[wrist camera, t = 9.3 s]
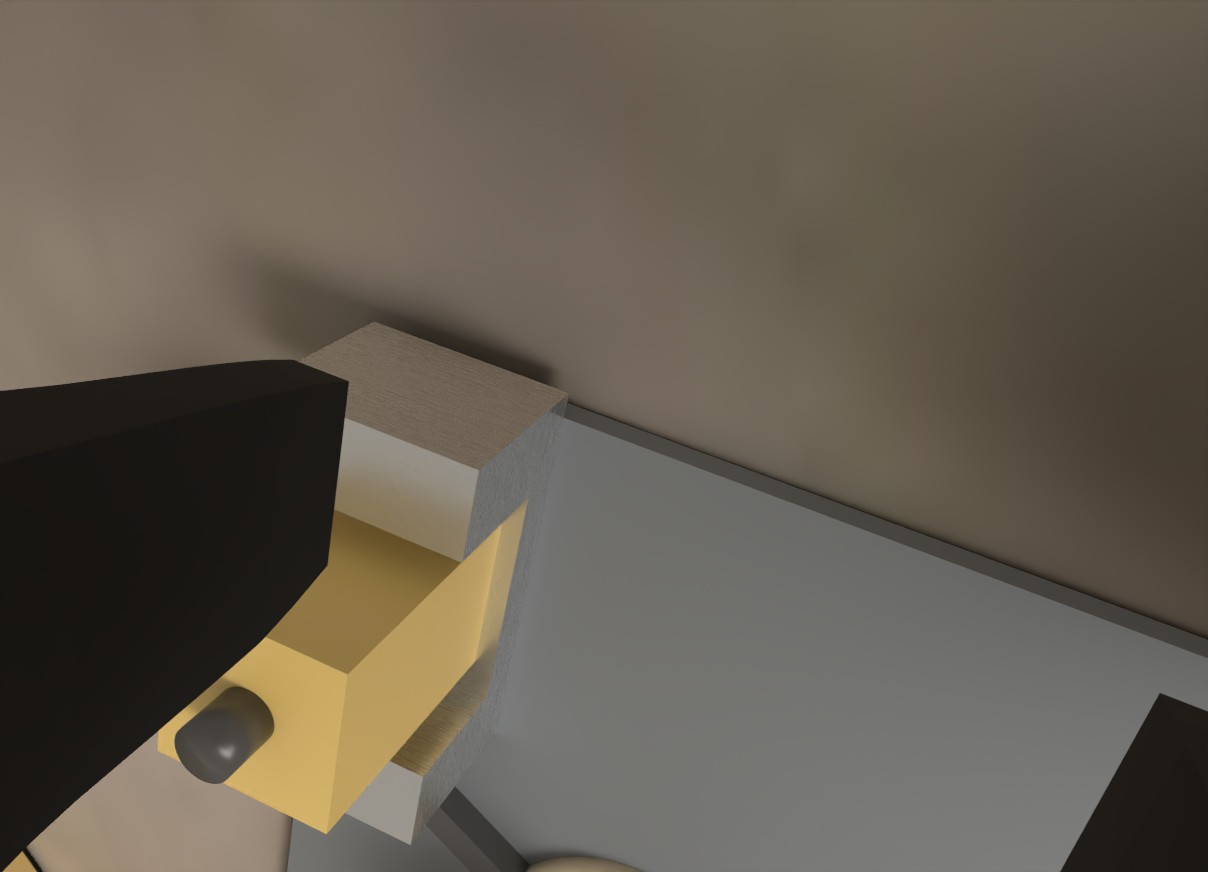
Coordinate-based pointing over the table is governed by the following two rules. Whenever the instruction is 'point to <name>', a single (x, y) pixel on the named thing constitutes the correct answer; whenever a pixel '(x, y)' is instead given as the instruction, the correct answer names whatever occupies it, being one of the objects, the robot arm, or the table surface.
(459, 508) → the block
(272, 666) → the yellow block with knob
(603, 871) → the bobbin
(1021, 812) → the board
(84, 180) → the table surface
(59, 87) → the table surface
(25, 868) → the puzzle cube
